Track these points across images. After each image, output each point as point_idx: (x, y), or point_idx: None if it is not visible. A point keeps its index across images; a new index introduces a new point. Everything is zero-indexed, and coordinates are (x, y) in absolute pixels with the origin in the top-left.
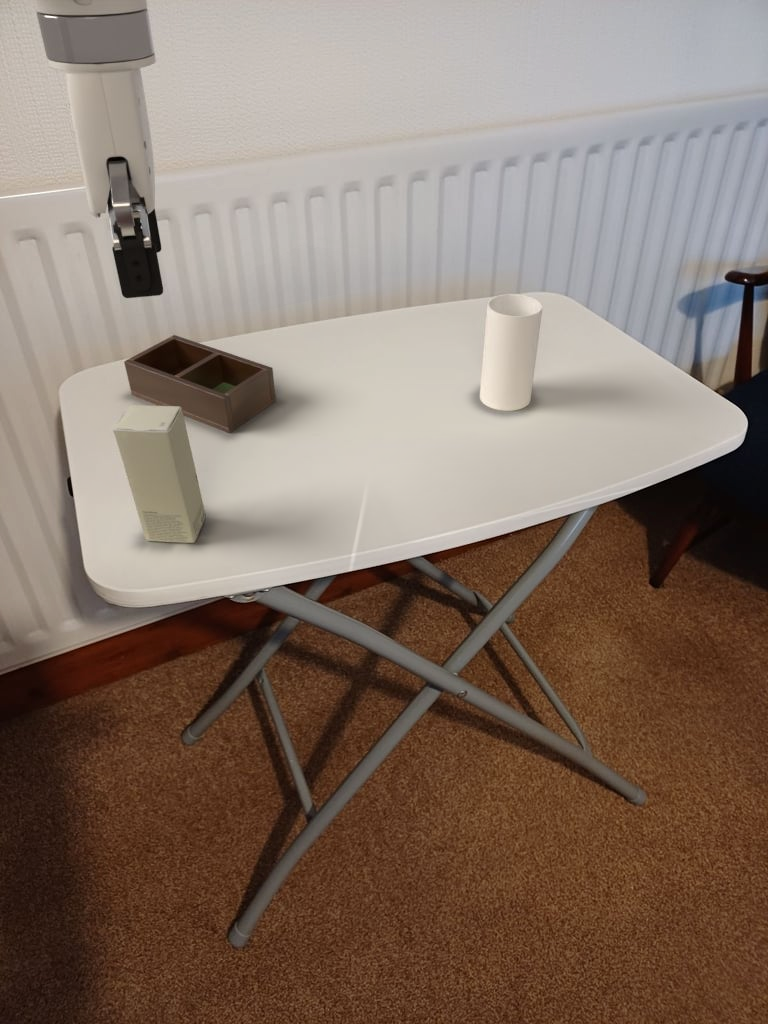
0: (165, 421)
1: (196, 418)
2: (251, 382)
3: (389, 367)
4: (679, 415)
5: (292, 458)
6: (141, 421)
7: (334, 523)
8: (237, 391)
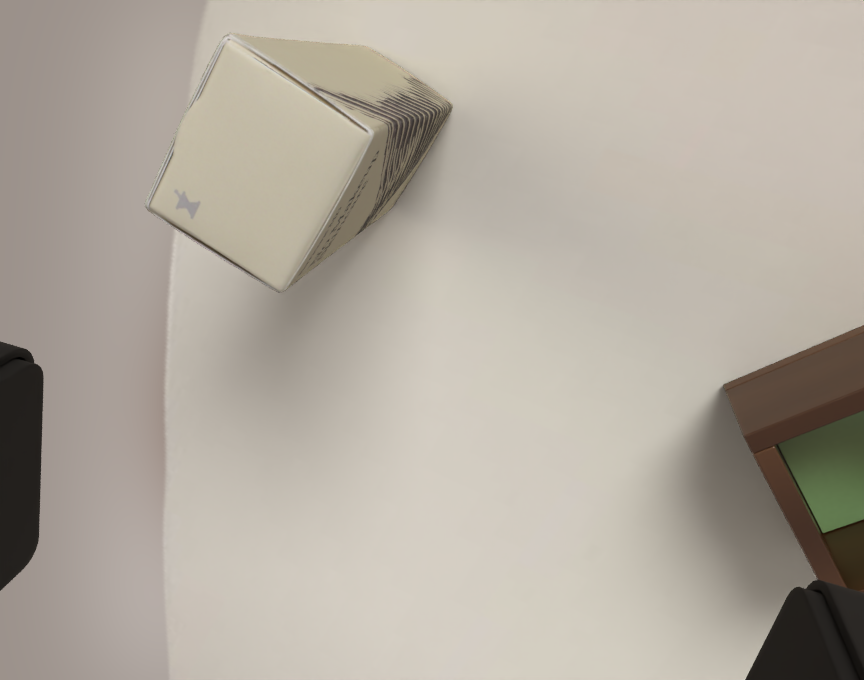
0: (200, 218)
1: (852, 333)
2: (794, 534)
3: None
4: None
5: (524, 467)
6: (227, 142)
7: (261, 438)
8: (767, 482)
